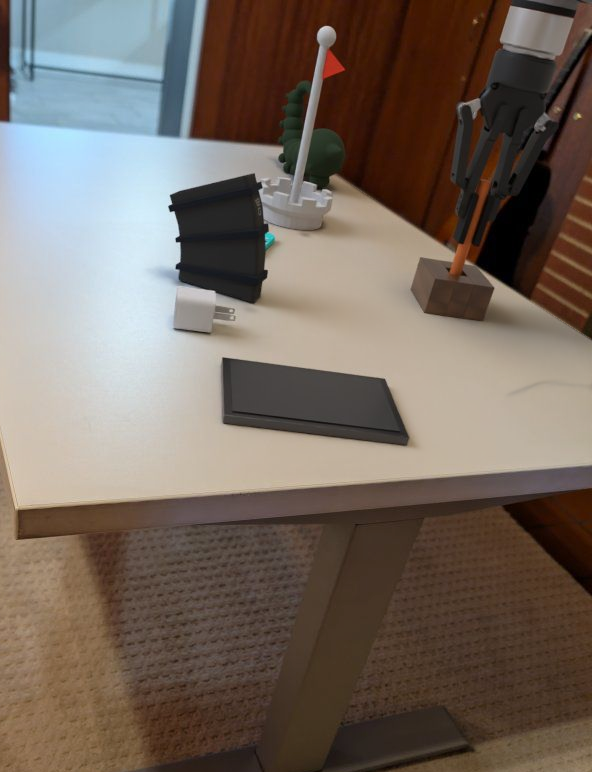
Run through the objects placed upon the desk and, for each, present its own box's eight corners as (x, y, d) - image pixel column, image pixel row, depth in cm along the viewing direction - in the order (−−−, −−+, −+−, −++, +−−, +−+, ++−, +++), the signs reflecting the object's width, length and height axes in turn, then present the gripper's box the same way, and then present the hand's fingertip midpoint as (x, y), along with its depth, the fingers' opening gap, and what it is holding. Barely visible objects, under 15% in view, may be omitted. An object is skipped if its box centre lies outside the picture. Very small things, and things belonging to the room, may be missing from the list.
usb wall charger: (173, 315, 89) (177, 283, 87) (231, 323, 90) (236, 292, 88) (172, 330, 86) (177, 297, 83) (233, 338, 87) (238, 305, 84)
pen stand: (465, 297, 113) (476, 265, 110) (482, 321, 105) (495, 287, 103) (410, 289, 111) (420, 256, 109) (424, 312, 104) (435, 278, 102)
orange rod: (456, 279, 107) (489, 180, 100) (459, 283, 106) (493, 183, 99) (445, 278, 107) (478, 178, 100) (448, 282, 106) (481, 181, 98)
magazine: (277, 299, 94) (248, 176, 88) (186, 314, 100) (152, 199, 94) (287, 291, 97) (259, 171, 91) (198, 305, 103) (166, 193, 97)
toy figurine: (262, 169, 167) (312, 193, 147) (274, 75, 158) (330, 87, 138) (300, 172, 170) (354, 196, 151) (314, 80, 162) (374, 93, 142)
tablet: (383, 385, 83) (385, 377, 82) (407, 445, 73) (410, 436, 72) (220, 364, 80) (222, 355, 80) (222, 423, 70) (224, 414, 70)
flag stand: (238, 209, 131) (269, 14, 115) (291, 205, 139) (327, 22, 124) (288, 234, 124) (329, 29, 108) (342, 229, 132) (387, 38, 116)
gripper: (572, 60, 95) (506, 241, 108) (462, 37, 93) (408, 225, 106) (597, 67, 89) (525, 259, 101) (480, 44, 87) (421, 242, 99)
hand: (466, 241), depth 104 cm, fingers closed on orange rod, 1 cm apart
